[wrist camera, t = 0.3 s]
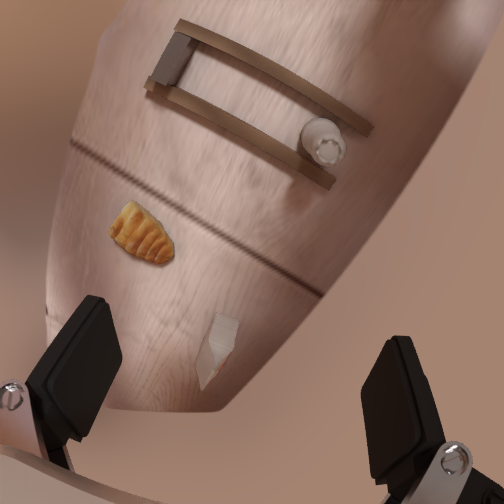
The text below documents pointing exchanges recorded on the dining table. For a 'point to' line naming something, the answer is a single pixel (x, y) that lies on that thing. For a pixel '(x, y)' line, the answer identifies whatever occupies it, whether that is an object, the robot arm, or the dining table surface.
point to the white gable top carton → (216, 347)
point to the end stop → (174, 59)
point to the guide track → (244, 128)
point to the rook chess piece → (323, 141)
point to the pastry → (141, 234)
